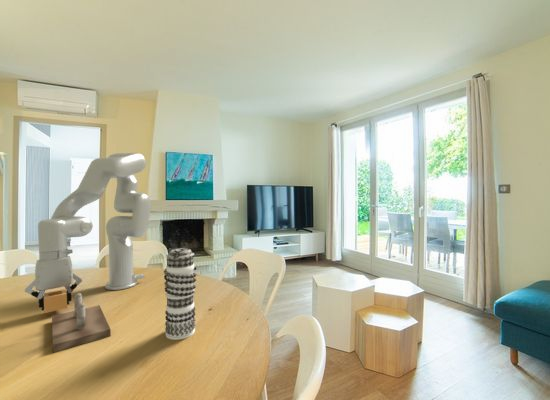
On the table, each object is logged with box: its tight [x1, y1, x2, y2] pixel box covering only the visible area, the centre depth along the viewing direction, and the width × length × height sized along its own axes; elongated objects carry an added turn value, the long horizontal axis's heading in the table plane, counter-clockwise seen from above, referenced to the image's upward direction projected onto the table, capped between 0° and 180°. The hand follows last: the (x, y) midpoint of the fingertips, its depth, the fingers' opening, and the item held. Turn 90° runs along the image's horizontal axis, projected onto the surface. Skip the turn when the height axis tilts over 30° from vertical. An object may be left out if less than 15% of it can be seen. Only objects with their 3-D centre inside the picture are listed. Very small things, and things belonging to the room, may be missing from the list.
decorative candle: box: [163, 247, 197, 341], centre depth 80 cm, size 9×9×25 cm
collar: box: [43, 288, 68, 314], centre depth 93 cm, size 6×6×5 cm
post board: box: [51, 292, 112, 353], centre depth 83 cm, size 13×22×10 cm, turn 40°
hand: (55, 305), depth 93 cm, fingers closed on collar, 5 cm apart
